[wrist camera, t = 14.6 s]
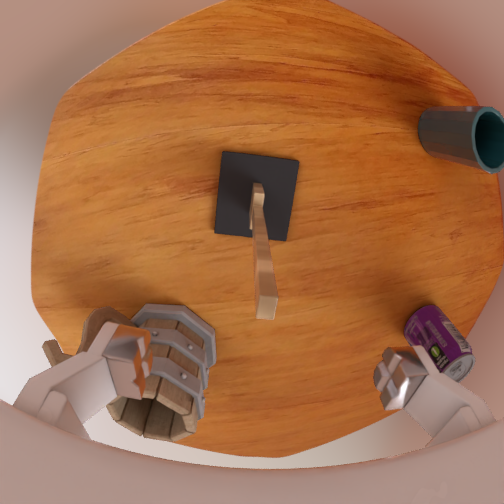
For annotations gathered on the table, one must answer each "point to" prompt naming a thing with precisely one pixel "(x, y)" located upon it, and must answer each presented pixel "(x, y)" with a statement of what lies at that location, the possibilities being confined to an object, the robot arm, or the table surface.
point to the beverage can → (440, 342)
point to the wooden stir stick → (262, 259)
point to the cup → (464, 136)
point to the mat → (240, 193)
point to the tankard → (159, 369)
